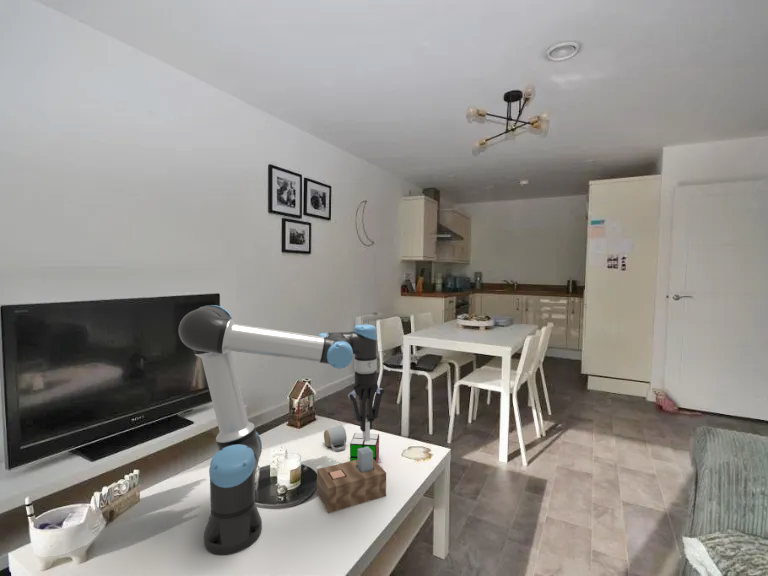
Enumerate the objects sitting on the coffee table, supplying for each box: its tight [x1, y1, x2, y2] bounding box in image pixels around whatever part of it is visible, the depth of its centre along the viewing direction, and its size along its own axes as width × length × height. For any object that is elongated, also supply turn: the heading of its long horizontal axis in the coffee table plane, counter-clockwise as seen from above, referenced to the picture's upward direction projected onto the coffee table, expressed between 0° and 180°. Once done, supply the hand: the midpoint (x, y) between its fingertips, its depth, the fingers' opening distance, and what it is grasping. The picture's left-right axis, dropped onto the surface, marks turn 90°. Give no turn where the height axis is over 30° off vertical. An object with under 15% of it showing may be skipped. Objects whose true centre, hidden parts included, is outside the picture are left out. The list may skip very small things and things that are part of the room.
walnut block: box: [316, 459, 387, 514], centre depth 124 cm, size 20×12×8 cm, turn 117°
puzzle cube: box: [349, 432, 380, 464], centre depth 144 cm, size 10×10×10 cm
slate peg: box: [357, 447, 373, 473], centre depth 126 cm, size 4×4×8 cm
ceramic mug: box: [323, 424, 348, 452], centre depth 157 cm, size 11×8×8 cm
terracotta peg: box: [330, 470, 345, 480], centre depth 122 cm, size 4×4×8 cm
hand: (366, 439), depth 126 cm, fingers closed
